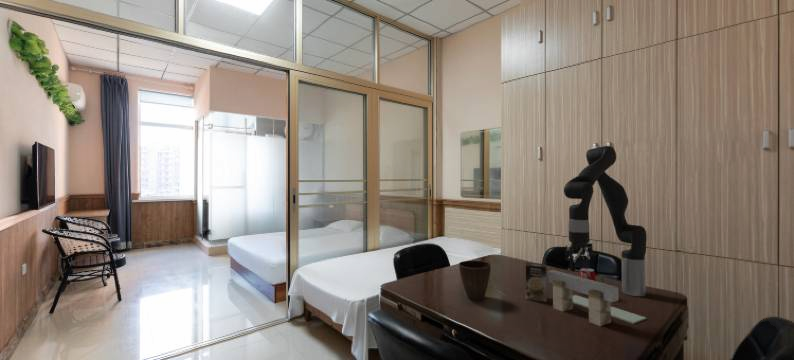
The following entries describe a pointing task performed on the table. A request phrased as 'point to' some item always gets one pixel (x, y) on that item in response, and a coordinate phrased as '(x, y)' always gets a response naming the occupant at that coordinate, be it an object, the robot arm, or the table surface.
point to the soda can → (587, 275)
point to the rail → (584, 285)
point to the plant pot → (475, 278)
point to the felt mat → (614, 311)
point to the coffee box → (536, 282)
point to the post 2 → (598, 309)
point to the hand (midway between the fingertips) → (579, 269)
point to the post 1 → (562, 297)
